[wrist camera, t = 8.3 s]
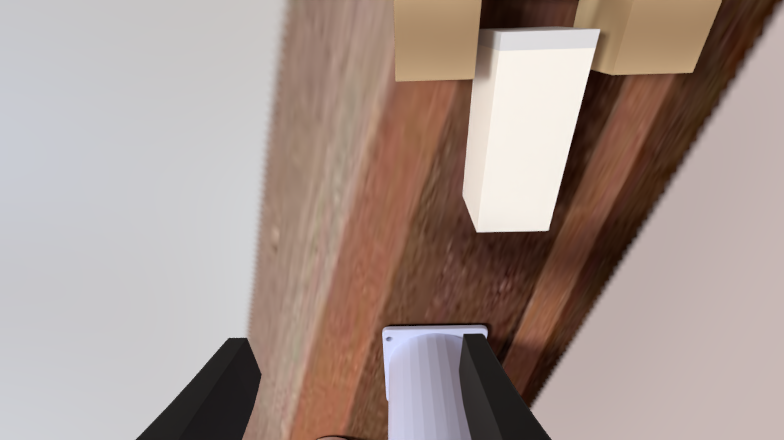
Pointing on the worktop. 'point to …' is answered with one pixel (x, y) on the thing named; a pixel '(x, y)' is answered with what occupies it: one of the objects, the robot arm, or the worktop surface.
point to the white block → (523, 122)
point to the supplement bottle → (331, 438)
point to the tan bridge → (595, 10)
